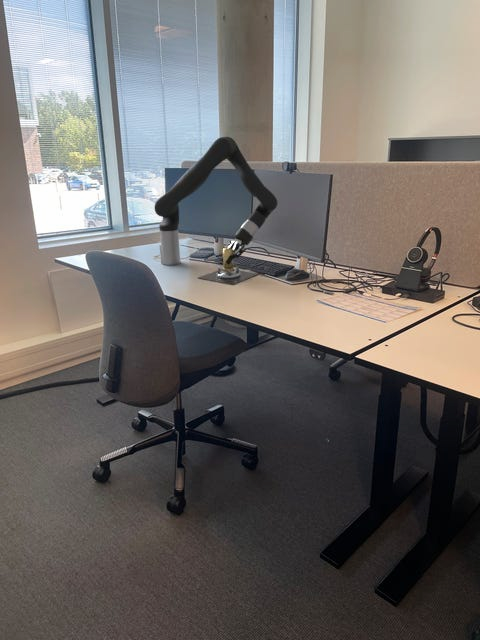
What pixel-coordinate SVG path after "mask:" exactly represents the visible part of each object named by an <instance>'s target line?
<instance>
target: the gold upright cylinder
mask: <svg viewBox="0 0 480 640" xmlns="http://www.w3.org/2000/svg"><path fill="white" fill-rule="evenodd" d="M232 249H233V248H225V247H223V248H222V256H223V262H222V264H223V266H222V269H223V271H225V272H228V270H231V271H234V270H235V266H234V259H233V260H232V262H231V263H230V264H227V263H226V260H227V259H228V257H229V256H230V255H231V253H232Z"/></svg>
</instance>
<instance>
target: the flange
mask: <svg viewBox="0 0 480 640" xmlns="http://www.w3.org/2000/svg"><path fill="white" fill-rule="evenodd" d="M258 275H260V274H259V273H257V272H252V271H247V270H246V271H245V270H240V266H236V267H235V269H234V271H231V270H228V272H225V271H223V268H220V267H217V270H215V271H212V272H210V273H207V274H204V275H201V276H199V277H197V279H200V280H205V281H210V282H215V283H221V284H224V285H225V284H226V285H231V286H234V285H237V284H240V283H241V282H244V281H246V280H248V279H251V278H254V277H256V276H258Z"/></svg>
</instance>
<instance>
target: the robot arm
mask: <svg viewBox="0 0 480 640" xmlns="http://www.w3.org/2000/svg"><path fill="white" fill-rule="evenodd" d="M225 160H228V161H229V162H230V163H231V165H233V167H234V169H235V171H236V172H237V174H238V177H239V179H240V181H241V182H242V184H243V186H244V187H245V189H246V190H247V191H248V192H249V194H250V195H251V196H252V197H253V198H256V199H257V200H258V202H259V204H258V205H257V207H256V208H255V210H253V212H252V213H251V214H250V215H249V217H248V218H247V219H246V220H245V221H244V223H243V224H242V225H241V227H239V228H238V230H237V231H236V232H235V234H234V239H233V240H228V241H227V244H226V245H225V246H224V248H233V249H232V253H231V255H230V256H229V257H228V259H227V260H226V263H227V264H230V263H231V262H232V260H233V261H234V259H238V258H240V257H241V256H242V255H243V254H244V253H245V252H246V250H247V247H246V246H248V245H249V244H250V243H251V241H252V240H253V239H254V238H255V236H256V235H257V234H258V232H259V230H260V229H261V227H262V226H263V225H264V223H265V222H266V220H267V219H268V217H269V216H270V215H271V214H272V212H274V210H275V209H277V206H278V199H277V197H276V196H275V195H274V193H272V191H270V189H268V188H267V187H266V186H265V185H264V183H263V182H262V180H261V179H260V178H259V177H258V176H257V174H256V173H255V171H254V170H253V169H252V168H251V166H250V165H249V163H248V162H247V160H246V159H245V157H244V155H243V154H242V152H241V149H240V148H239V146H238V144H237V142H236V141H235V139H234V138H232V137H230V136H222V137H219V138H217V139H215V141H214V142H213V143H212V144H211V145H210V147H209V148H208V149H207V151H205V153H204V155H203V156H202V157H200V158H199V159H198V160H197V161H196V162H195V163H194V164H193V165H191V167H189V169H187V170H186V172H184V174H183V175H182V176H180V178H179V179H178V180H177V182H175V184H174V185H173V186H172V187H171V188H170V189H169V190H168V191H167V192H166V193H164V194H163V195H162V196H161V197H159V198H158V199H157V200H156V201H155V203H154V212H155V214H156V215H157V216H158V217H161V218H162V219H161V222H160V224H159V226H158V227H159V238H160V239H159V240H160V245H159V255H160V263H161V264H163V265H165V266H174V265H179V264H180V263H181V252H180V250H181V249H180V239H179V223H180V208H179V203H180V202H181V201H183V200H184V199H186V198H187V197H189V196H190V195H193V194H194V193H195V192H196V191H197V190H198V189H199V188H201V187H202V186H203V185H204V183H205V182H206V181H207V180H208V178H209V177H210V176H211V173H212V172H213V171H214V169H215V168H216V167H217V166H219V165H220V164H221V163H222V162H224V161H225ZM219 260H220V261H221V262H222V263H223V255H222V256H221V258H220V259H219Z"/></svg>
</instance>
